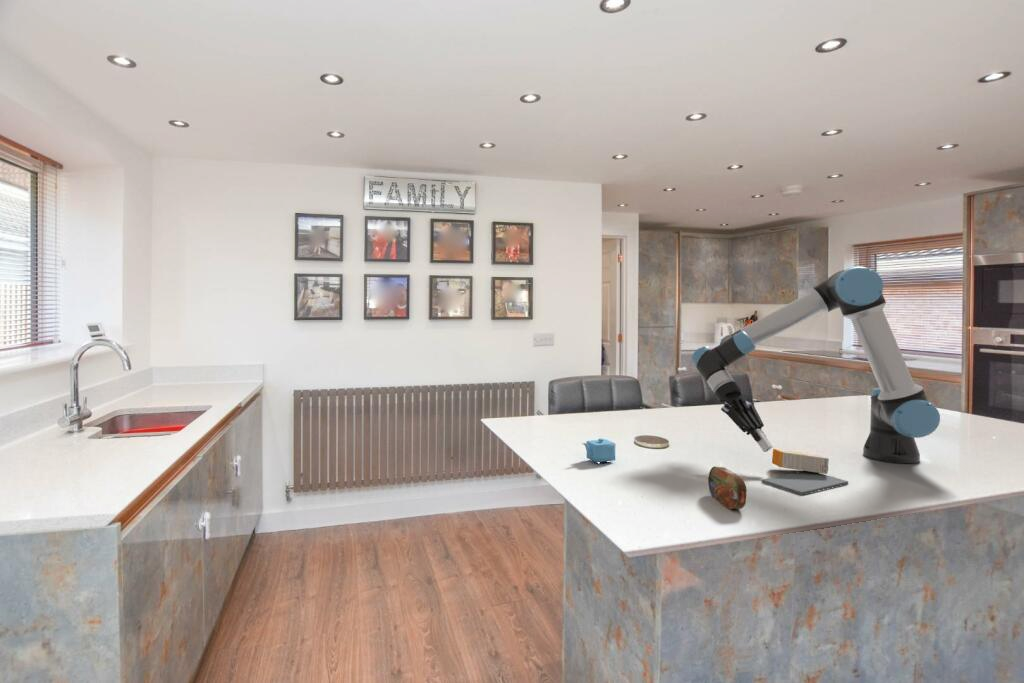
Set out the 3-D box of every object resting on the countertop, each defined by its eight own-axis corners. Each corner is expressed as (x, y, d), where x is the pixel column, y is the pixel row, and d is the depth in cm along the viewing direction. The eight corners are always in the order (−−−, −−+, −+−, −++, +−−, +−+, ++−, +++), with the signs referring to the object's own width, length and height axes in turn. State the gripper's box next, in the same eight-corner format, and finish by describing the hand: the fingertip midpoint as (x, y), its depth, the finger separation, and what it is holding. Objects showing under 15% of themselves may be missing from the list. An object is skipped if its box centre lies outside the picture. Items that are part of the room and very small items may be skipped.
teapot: (586, 466, 163) (586, 442, 162) (577, 461, 169) (577, 438, 168) (619, 462, 167) (619, 439, 167) (609, 457, 173) (609, 435, 172)
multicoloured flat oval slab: (706, 493, 138) (707, 462, 138) (718, 493, 138) (718, 461, 138) (735, 515, 123) (736, 480, 123) (748, 514, 123) (749, 479, 123)
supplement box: (778, 467, 152) (828, 475, 149) (779, 451, 153) (829, 458, 149) (771, 463, 160) (818, 470, 157) (772, 448, 161) (819, 454, 157)
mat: (807, 472, 156) (807, 469, 155) (848, 484, 145) (848, 481, 145) (761, 482, 147) (761, 479, 147) (801, 495, 136) (801, 492, 136)
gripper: (731, 392, 175) (774, 453, 161) (703, 395, 169) (745, 458, 155) (745, 379, 170) (791, 440, 156) (716, 381, 164) (761, 445, 150)
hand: (768, 449), depth 156 cm, fingers closed
